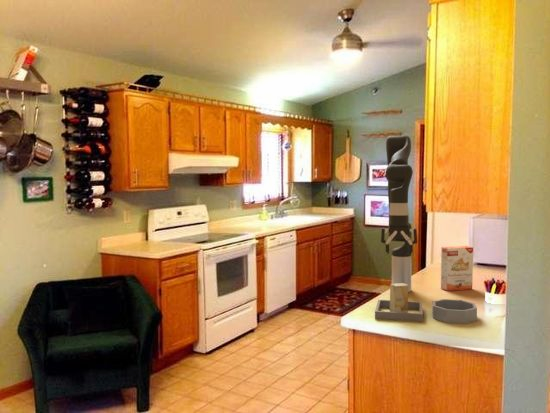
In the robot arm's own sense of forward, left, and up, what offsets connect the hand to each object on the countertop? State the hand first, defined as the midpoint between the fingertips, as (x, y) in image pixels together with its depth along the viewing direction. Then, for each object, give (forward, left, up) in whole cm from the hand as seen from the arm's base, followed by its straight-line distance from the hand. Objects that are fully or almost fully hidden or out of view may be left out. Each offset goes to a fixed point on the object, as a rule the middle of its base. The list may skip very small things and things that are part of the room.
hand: (399, 253), depth 193 cm
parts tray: (+2, 0, -25) cm, 25 cm away
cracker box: (-46, +26, -25) cm, 58 cm away
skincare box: (+2, 0, -25) cm, 25 cm away
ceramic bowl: (+2, +21, -25) cm, 32 cm away
